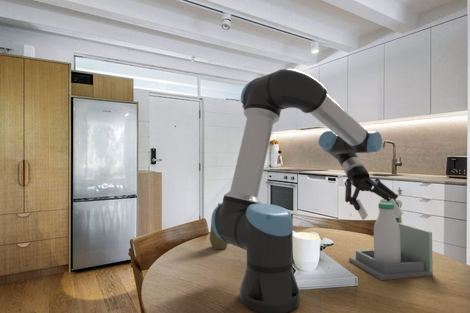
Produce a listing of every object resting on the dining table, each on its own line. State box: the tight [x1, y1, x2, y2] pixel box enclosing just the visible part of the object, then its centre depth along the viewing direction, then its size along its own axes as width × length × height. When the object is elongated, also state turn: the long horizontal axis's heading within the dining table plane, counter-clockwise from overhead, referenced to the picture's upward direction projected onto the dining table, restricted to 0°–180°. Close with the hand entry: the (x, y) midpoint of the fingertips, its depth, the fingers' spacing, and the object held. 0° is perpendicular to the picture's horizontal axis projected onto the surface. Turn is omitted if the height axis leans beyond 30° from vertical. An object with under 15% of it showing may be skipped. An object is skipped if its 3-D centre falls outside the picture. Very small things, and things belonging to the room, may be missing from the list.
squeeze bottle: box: [209, 203, 229, 250], centre depth 112 cm, size 8×8×18 cm
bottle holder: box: [348, 223, 434, 281], centre depth 90 cm, size 18×16×13 cm
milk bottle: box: [373, 202, 401, 264], centre depth 90 cm, size 8×8×20 cm
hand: (382, 216), depth 94 cm, fingers open, 13 cm apart
